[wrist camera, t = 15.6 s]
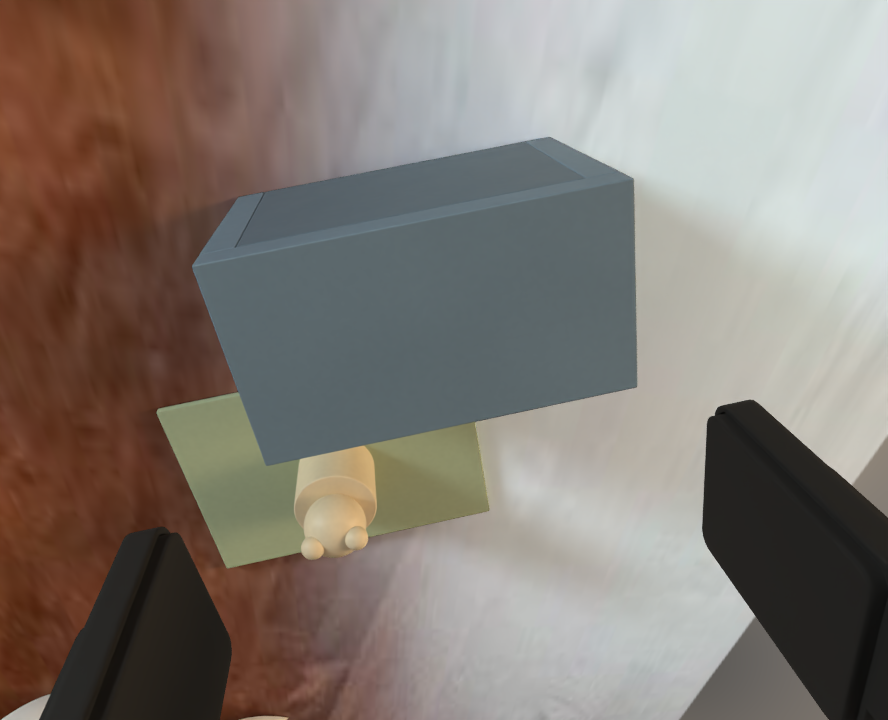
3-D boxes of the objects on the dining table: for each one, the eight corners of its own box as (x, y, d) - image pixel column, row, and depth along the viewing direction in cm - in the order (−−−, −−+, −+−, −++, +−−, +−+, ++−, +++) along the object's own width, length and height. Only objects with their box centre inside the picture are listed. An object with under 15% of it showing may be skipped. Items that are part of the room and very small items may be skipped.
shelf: (550, 136, 36) (634, 178, 25) (562, 296, 41) (637, 387, 30) (238, 196, 35) (190, 265, 25) (287, 352, 40) (265, 466, 29)
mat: (461, 345, 41) (462, 348, 41) (488, 506, 48) (489, 511, 47) (157, 408, 40) (155, 412, 40) (227, 563, 47) (226, 568, 47)
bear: (365, 429, 43) (368, 507, 36) (382, 494, 45) (389, 580, 38) (289, 445, 42) (277, 527, 35) (311, 509, 45) (305, 598, 38)
